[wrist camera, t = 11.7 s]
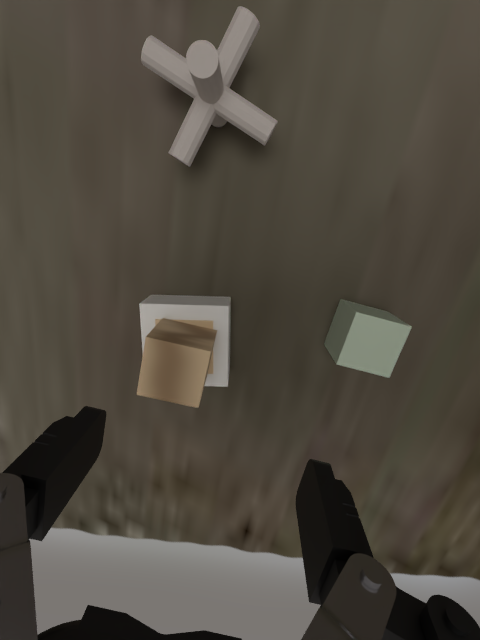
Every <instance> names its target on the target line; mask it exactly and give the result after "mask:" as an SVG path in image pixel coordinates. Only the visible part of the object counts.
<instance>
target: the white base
mask: <svg viewBox="0 0 480 640" xmlns="http://www.w3.org/2000/svg"><path fill="white" fill-rule="evenodd" d="M139 306H140V321H141V335H142V349H143V351H144V345H145V339H146V336H147V335H148V334H149V333H150V332H151V330H152V329H153V328H154V327H155V326H156V325H157V324H158V323H159V321H160V320H161V319H162V318H165V319H170V320H174V321H178V322H183V323H187V324H191V325H196V326H200V327H204V328H209V329H213V330H217V333H216V338H215V342H214V347H213V351H212V356H211V360H210V364H209V369H208V373H207V378H206V382H205V385H204V386H221V387H228V381H229V372H230V322H231V297H219V296H183V295H150V296H149V297H147V298H146V299H145V300H143V301H142V302H141V303H139Z"/></svg>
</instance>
